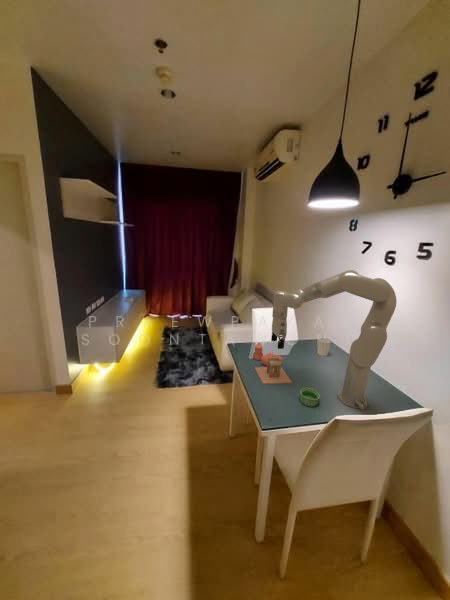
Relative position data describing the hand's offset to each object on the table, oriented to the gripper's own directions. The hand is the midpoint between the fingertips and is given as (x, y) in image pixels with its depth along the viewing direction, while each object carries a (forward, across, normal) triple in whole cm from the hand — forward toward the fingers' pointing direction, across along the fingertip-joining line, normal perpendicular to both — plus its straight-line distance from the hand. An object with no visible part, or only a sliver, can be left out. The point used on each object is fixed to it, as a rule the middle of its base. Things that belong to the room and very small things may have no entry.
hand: (277, 344), depth 134 cm
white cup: (+20, +25, -43) cm, 53 cm away
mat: (+19, +1, +1) cm, 19 cm away
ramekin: (+20, -22, -9) cm, 31 cm away
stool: (+18, +1, +1) cm, 18 cm away
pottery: (+18, +17, 0) cm, 25 cm away
